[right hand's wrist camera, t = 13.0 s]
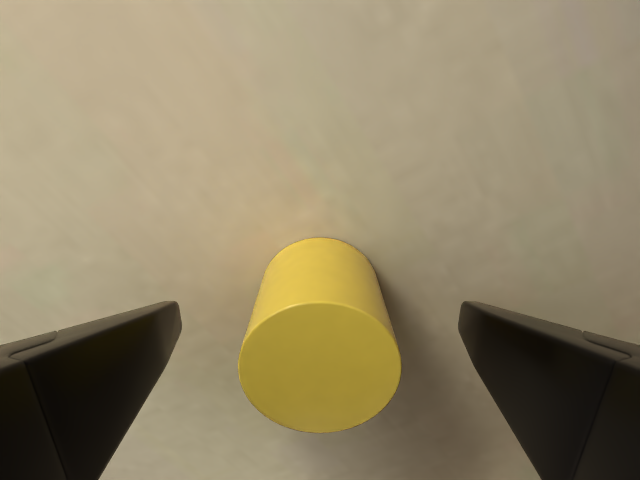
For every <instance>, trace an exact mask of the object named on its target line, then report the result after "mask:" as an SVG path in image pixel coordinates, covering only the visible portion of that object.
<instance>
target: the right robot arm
mask: <svg viewBox="0 0 640 480" xmlns="http://www.w3.org/2000/svg"><path fill="white" fill-rule="evenodd" d="M181 329H182V322H181V316H180V310H179V305H178V303H177V302H175V301H165V302H160V303H157V304H153V305H150V306H146V307H142V308H139V309H135V310H131V311H128V312H124V313H120V314H117V315H113V316H110V317H106V318H102V319H99V320H95V321H91V322H88V323H84V324H80V325H77V326H73V327H70V328H66V329H62V330H59V331H58V332H57V331H53V332H50V333H46V334H42V335H38V336H35V337H31V338H27V339H23V340H19V341H16V342H12V343H8V344H4V345H0V480H98V479H99V478H100V476H101V474H102V473H103V471H104V469H105V468H106V466H107V464H108V463H109V461H110V459H111V458H112V456H113V454H114V453H115V451H116V449H117V448H118V446H119V444H120V443H121V441H122V439H123V438H124V436H125V434H126V433H127V431H128V429H129V427H130V426H131V424H132V422H133V421H134V419H135V417H136V416H137V414H138V412H139V411H140V409H141V407H142V406H143V404H144V402H145V401H146V399H147V397H148V396H149V394H150V392H151V391H152V389H153V387H154V386H155V384H156V382H157V381H158V379H159V377H160V376H161V374H162V372H163V370H164V369H165V367H166V365H167V363H168V361H169V358H170V356H171V354H172V352H173V349H174V347H175V345H176V342H177V340H178V338H179V335H180V333H181ZM458 329H459V333H460V335H461V338H462V340H463V342H464V345H465V347H466V349H467V352H468V354H469V356H470V358H471V361H472V363H473V365H474V367H475V369H476V370H477V372H478V374H479V376H480V377H481V379H482V381H483V382H484V384H485V386H486V387H487V389H488V391H489V392H490V394H491V396H492V397H493V399H494V401H495V402H496V404H497V406H498V407H499V409H500V411H501V412H502V414H503V416H504V417H505V419H506V421H507V422H508V424H509V426H510V427H511V429H512V431H513V433H514V434H515V436H516V438H517V439H518V441H519V443H520V444H521V446H522V448H523V449H524V451H525V453H526V454H527V456H528V458H529V459H530V461H531V463H532V464H533V466H534V468H535V469H536V471H537V473H538V474H539V476H540V478H541V479H542V480H640V345H636V344H632V343H628V342H624V341H621V340H617V339H613V338H609V337H605V336H602V335H598V334H594V333H590V332H587V331H583V332H582V331H581V330H578V329H574V328H570V327H567V326H563V325H560V324H556V323H552V322H549V321H545V320H541V319H538V318H534V317H530V316H527V315H523V314H520V313H516V312H512V311H509V310H505V309H501V308H498V307H494V306H490V305H487V304H483V303H480V302H475V301H465V302H463V303H462V305H461V310H460V316H459V322H458Z"/></svg>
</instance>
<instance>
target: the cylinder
mask: <svg viewBox="0 0 640 480" xmlns="http://www.w3.org/2000/svg"><path fill="white" fill-rule="evenodd" d="M401 373H402V361H401V354H400V351H399V348H398V344H397V341H396V338H395V335H394V332H393V328H392V325H391V322H390V319H389V316H388V312H387V309H386V306H385V303H384V300H383V296H382V293H381V290H380V287H379V284H378V280H377V277H376V274H375V271H374V269H373V267H372V265H371V264H370V262H369V261H368V259H367V258H366V257H365V256H364V255H363V254H362V253H361V252H360V251H358V250H357V249H356V248H354V247H352V246H351V245H349V244H347V243H345V242H342V241H339V240H335V239H330V238H310V239H304V240H301V241H298V242H295V243H293V244H291V245H289V246H287V247H286V248H284V249H283V250H282V251H280V252H279V253H278V254H277V255H276V256H275V257H274V258H273V259H272V261H271V262H270V263H269V265H268V267H267V269H266V271H265V274H264V277H263V280H262V283H261V286H260V289H259V293H258V296H257V299H256V302H255V305H254V309H253V312H252V315H251V318H250V321H249V325H248V328H247V331H246V334H245V337H244V341H243V344H242V347H241V350H240V354H239V359H238V374H239V379H240V383H241V386H242V388H243V391H244V392H245V394H246V396H247V398H248V399H249V401H250V402H251V403H252V404H253V406H254V407H255V408H256V409H257V410H258V411H259V412H261V413H262V414H263V415H264V416H266V417H267V418H269V419H270V420H272V421H274V422H276V423H278V424H280V425H282V426H285V427H287V428H290V429H294V430H298V431H303V432H310V433H330V432H337V431H342V430H346V429H350V428H352V427H355V426H358V425H360V424H362V423H364V422H366V421H368V420H369V419H371V418H373V417H374V416H375V415H377V414H378V413H379V412H380V411H382V410H383V409H384V407H385V406H386V405H387V404H388V403H389V402H390V400H391V399H392V398H393V396H394V394H395V392H396V390H397V388H398V385H399V382H400V378H401Z"/></svg>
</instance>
